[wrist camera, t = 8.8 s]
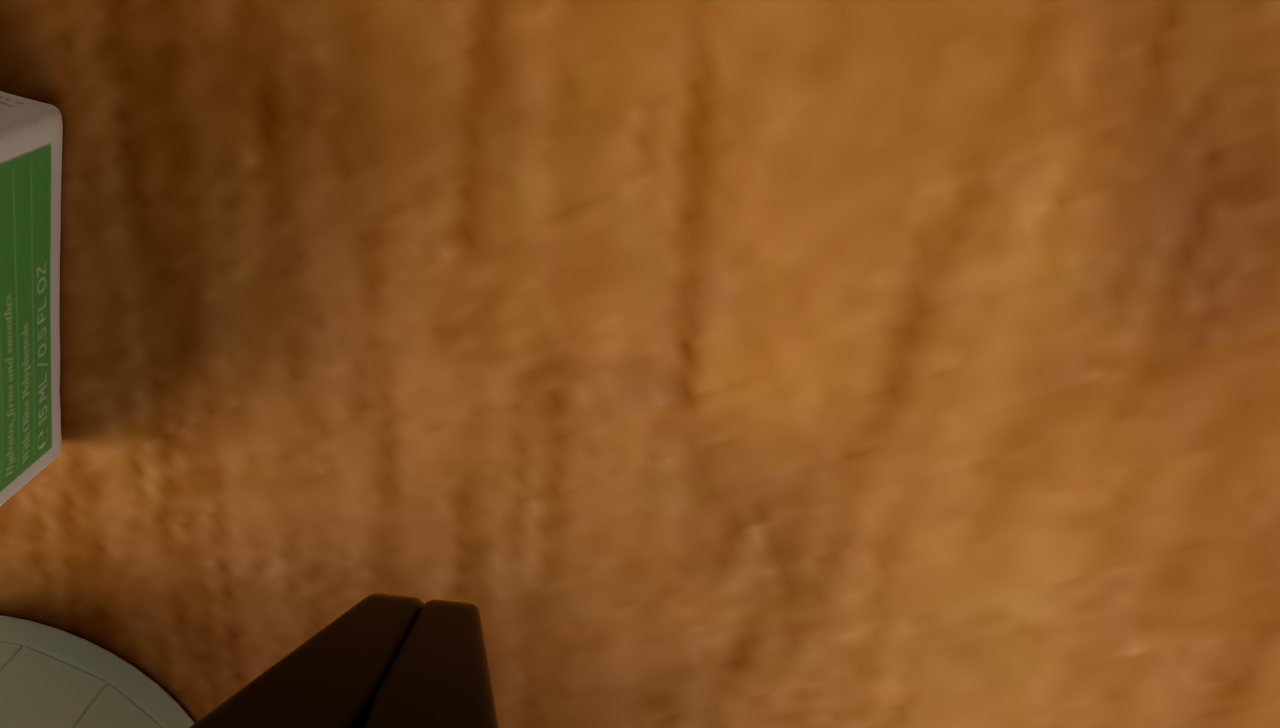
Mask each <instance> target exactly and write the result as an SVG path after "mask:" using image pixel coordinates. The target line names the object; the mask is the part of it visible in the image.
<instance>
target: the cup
mask: <svg viewBox="0 0 1280 728" xmlns="http://www.w3.org/2000/svg"><path fill="white" fill-rule="evenodd" d="M193 724H195V722H194V721H193V720H192V719H191V718H190V717H189V715H188V714H187V713H186V712H185V711H184V710H183V708H182V707H181V706H180V705H179V704H178V703H177V702H176V701H175V700H174V699H173V698H172V697H171V696H170V695H169V694H168V693H167V692H166V691H165V690H163V689H162V688H161V687H160V686H159V685H158V684H157V683H155V682H154V681H153V680H152V679H150V678H149V677H148V676H146V675H145V674H144V673H142V672H141V671H140V670H138V669H137V668H136V667H134V666H133V665H131V664H129V663H128V662H126V661H125V660H123V659H121V658H120V657H118V656H117V655H115V654H113V653H112V652H110V651H108V650H106V649H104V648H102V647H100V646H98V645H96V644H94V643H92V642H90V641H88V640H86V639H83V638H81V637H78V636H76V635H73V634H71V633H68V632H66V631H63V630H61V629H58V628H54V627H51V626H47V625H44V624H41V623H37V622H34V621H30V620H25V619H20V618H15V617H9V616H4V615H0V728H189V727H191V726H192V725H193Z"/></svg>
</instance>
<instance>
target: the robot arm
mask: <svg viewBox="0 0 1280 728" xmlns="http://www.w3.org/2000/svg"><path fill="white" fill-rule="evenodd" d="M189 728H498V723H497V717H496V711H495V705H494V699H493V693H492V687H491V680H490V674H489V668H488V662H487V656H486V650H485V644H484V638H483V632H482V626H481V620H480V614H479V610H478V608H477V607H476V606H475V605H473V604H470V603H461V602H451V601H442V600H431V601H429V602H427V603H425V605H424V603H423V602H422V601H421V600H420V599H418V598H415V597H406V596H397V595H388V594H373V595H370V596H368V597H366V598H365V599H363V600H362V601H360V602H359V603H358V604H356V605H355V606H354V607H352V608H351V609H350V610H348V611H347V612H346V613H344V614H343V615H341V616H340V617H339V618H337V619H336V620H335V621H333V622H332V623H331V624H329V625H328V626H326V627H325V628H324V629H322V630H321V631H320V632H318V633H317V634H316V635H314V636H313V637H312V638H310V639H309V640H307V641H306V642H305V643H303V644H302V645H301V646H299V647H298V648H297V649H295V650H294V651H292V652H291V653H290V654H288V655H287V656H286V657H284V658H283V659H282V660H280V661H279V662H278V663H276V664H275V665H273V666H272V667H271V668H269V669H268V670H267V671H265V672H264V673H263V674H261V675H260V676H258V677H257V678H256V679H254V680H253V681H252V682H250V683H249V684H248V685H246V686H245V687H244V688H242V689H241V690H239V691H238V692H237V693H235V694H234V695H233V696H231V697H230V698H229V699H227V700H226V701H224V702H223V703H222V704H220V705H219V706H218V707H216V708H215V709H214V710H212V711H211V712H210V713H208V714H207V715H205V716H204V717H203V718H201V719H200V720H199V721H197V722H196V723H195V724H193V725H192V726H191V727H189Z"/></svg>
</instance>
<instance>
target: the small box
mask: <svg viewBox="0 0 1280 728" xmlns="http://www.w3.org/2000/svg"><path fill="white" fill-rule="evenodd" d="M62 136H63V124H62V115H61V112H60V110H59V109H58V108H57V107H56V106H54V105H51V104H48V103H43V102H39V101H35V100H32V99H28V98H24V97H20V96H16V95H13V94H9V93H6V92H2V91H0V506H1V505H3V504H4V503H5V502H6V501H7V500H8V499H9V498H11V497H12V496H13V495H14V494H15V493H17V492H18V491H19V490H20V489H21V488H22V487H24V486H25V485H26V484H27V483H28V482H29V481H30V480H32V479H33V478H34V477H35V476H36V475H38V474H39V473H40V472H41V471H42V470H43V469H44V468H46V467H47V466H48V465H49V464H50V463H52V462H53V461H54V460H55V459H56V458H57V457H58V456H59V455H60V453H61V450H62V436H61V408H60V234H61V174H62Z"/></svg>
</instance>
